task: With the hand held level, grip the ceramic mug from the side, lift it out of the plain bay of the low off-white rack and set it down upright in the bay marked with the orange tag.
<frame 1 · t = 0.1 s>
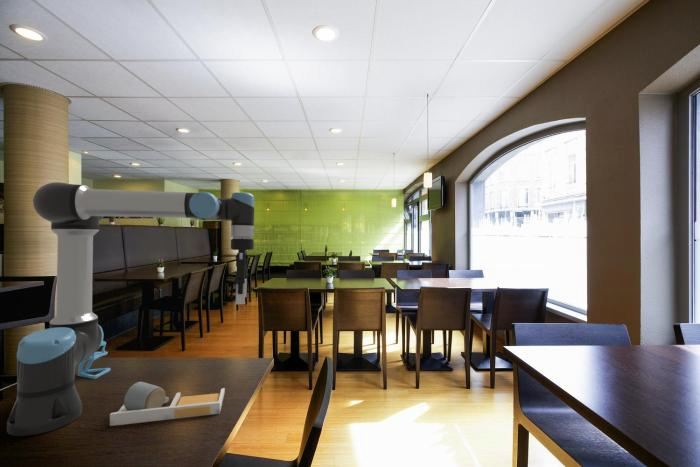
hand: (241, 300, 118), 28 cm above the table, tool pointing down, fingers open, 13 cm apart
chair: (92, 374, 124), on the table
bay rack: (173, 407, 100), on the table
ceramic mug: (148, 409, 99), resting in bay rack
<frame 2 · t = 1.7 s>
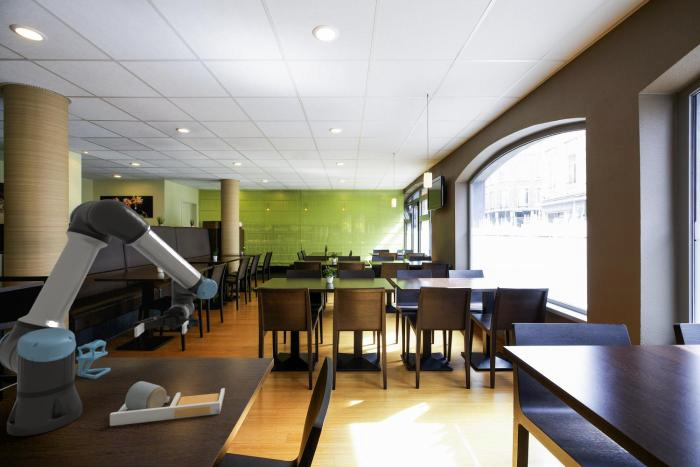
hand: (159, 331, 109), 20 cm above the table, tool horizontal, fingers open, 13 cm apart
nothing on the table moved.
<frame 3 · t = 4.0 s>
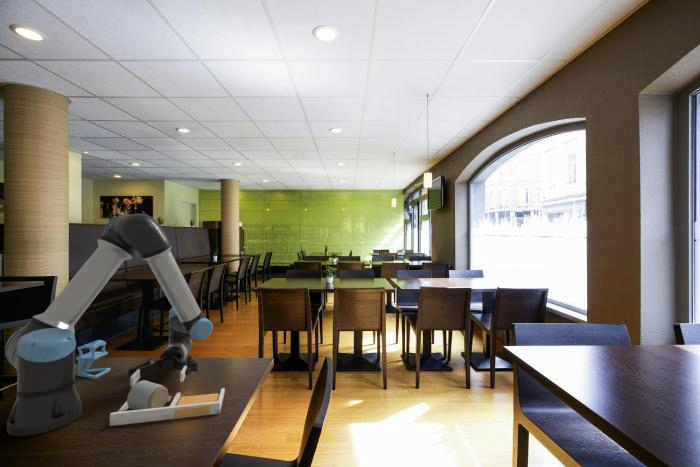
hand: (156, 379, 104), 6 cm above the table, tool horizontal, fingers open, 13 cm apart
nothing on the table moved.
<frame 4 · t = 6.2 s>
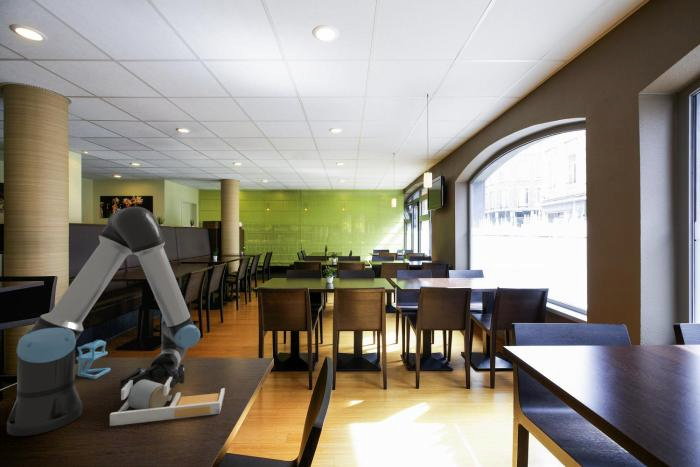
hand: (144, 392, 95), 7 cm above the table, tool horizontal, fingers closed on ceramic mug, 10 cm apart
ceramic mug: (152, 407, 101), resting in bay rack, touching gripper
everything else where it was.
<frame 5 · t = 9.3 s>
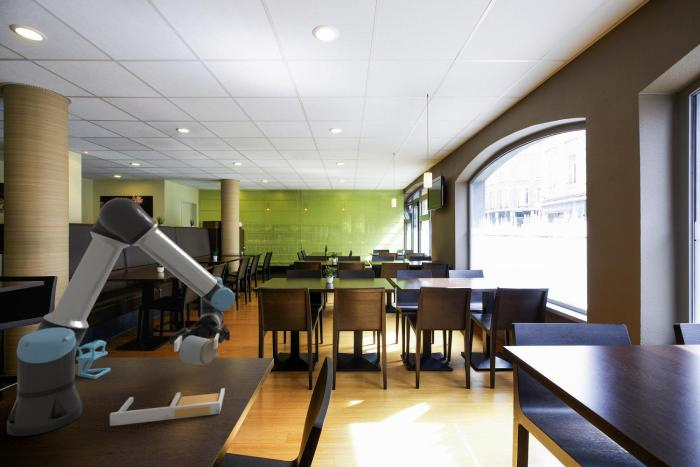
hand: (195, 345, 99), 19 cm above the table, tool horizontal, fingers closed on ceramic mug, 10 cm apart
ceramic mug: (201, 362, 104), point 12 cm above the table, touching gripper
everything else where it was.
when the fingers open (8 cm above the table, at t = 12.0 s): ceramic mug drops 1 cm, resting on bay rack.
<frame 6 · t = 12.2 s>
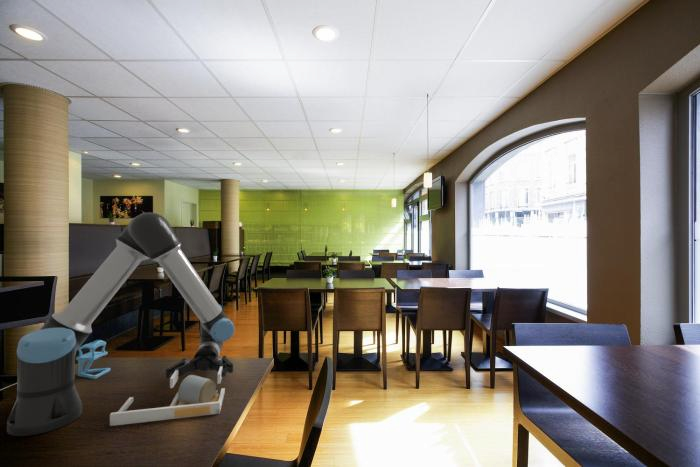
hand: (195, 381, 99), 8 cm above the table, tool horizontal, fingers open, 12 cm apart
ceramic mug: (200, 401, 104), resting on bay rack
everything else where it was.
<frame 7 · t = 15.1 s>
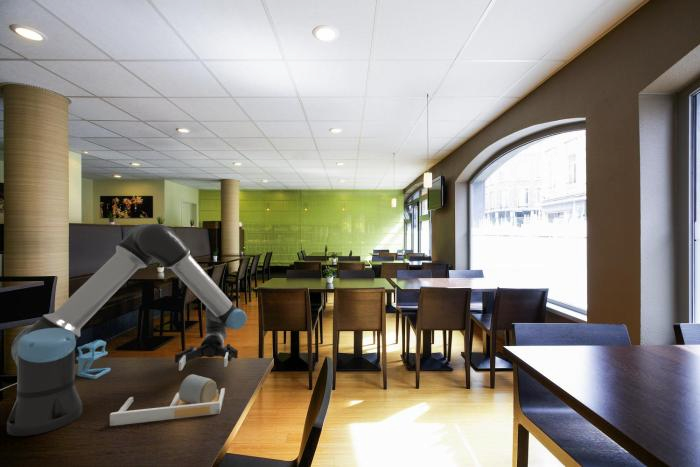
hand: (203, 364, 112), 8 cm above the table, tool horizontal, fingers open, 13 cm apart
nothing on the table moved.
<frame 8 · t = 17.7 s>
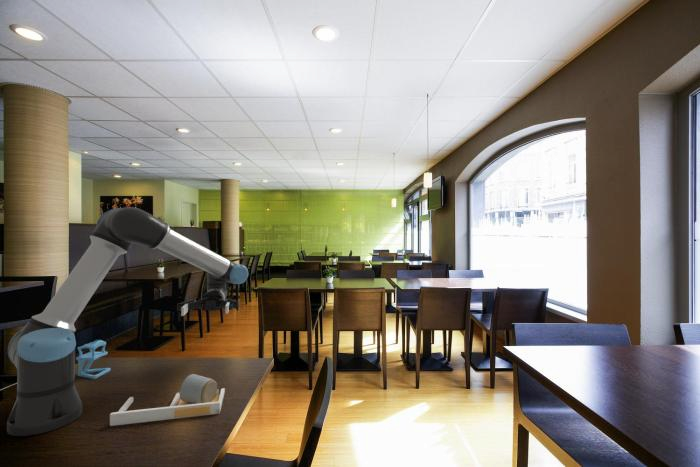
hand: (204, 310, 115), 25 cm above the table, tool horizontal, fingers open, 13 cm apart
nothing on the table moved.
at the end: ceramic mug inside the target area on the bay rack (2.1 cm from its centre), point 0.0 cm above the bay rack's base; ceramic mug tilted 0°; the gripper is holding nothing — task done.
